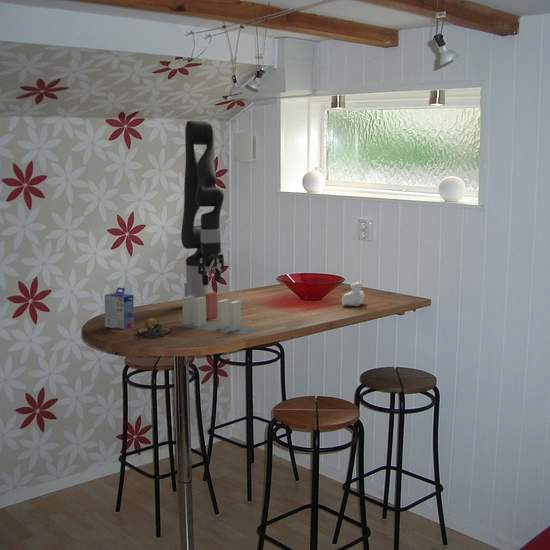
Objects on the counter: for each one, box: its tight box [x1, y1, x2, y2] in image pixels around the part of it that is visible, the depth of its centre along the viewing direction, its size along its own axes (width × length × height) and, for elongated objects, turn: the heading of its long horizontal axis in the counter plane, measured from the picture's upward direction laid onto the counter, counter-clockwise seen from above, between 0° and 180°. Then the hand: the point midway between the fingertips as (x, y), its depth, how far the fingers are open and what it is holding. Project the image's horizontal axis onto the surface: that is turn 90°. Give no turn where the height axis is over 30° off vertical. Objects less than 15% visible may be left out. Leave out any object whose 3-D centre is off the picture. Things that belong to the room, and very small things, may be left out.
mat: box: [176, 321, 261, 336], centre depth 274 cm, size 29×11×1 cm, turn 62°
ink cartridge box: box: [104, 287, 135, 330], centre depth 275 cm, size 10×6×14 cm, turn 58°
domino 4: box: [229, 300, 242, 331], centre depth 270 cm, size 2×5×10 cm, turn 152°
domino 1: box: [181, 295, 195, 325], centre depth 279 cm, size 2×5×10 cm, turn 152°
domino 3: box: [216, 298, 230, 330], centre depth 272 cm, size 2×5×10 cm, turn 152°
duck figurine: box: [341, 281, 366, 307], centre depth 314 cm, size 12×8×11 cm
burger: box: [136, 317, 172, 339], centre depth 266 cm, size 12×12×8 cm
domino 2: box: [194, 297, 207, 327], centre depth 277 cm, size 2×5×10 cm, turn 152°
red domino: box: [206, 291, 218, 320], centre depth 290 cm, size 2×5×10 cm, turn 152°
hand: (211, 283), depth 288 cm, fingers open, 8 cm apart
